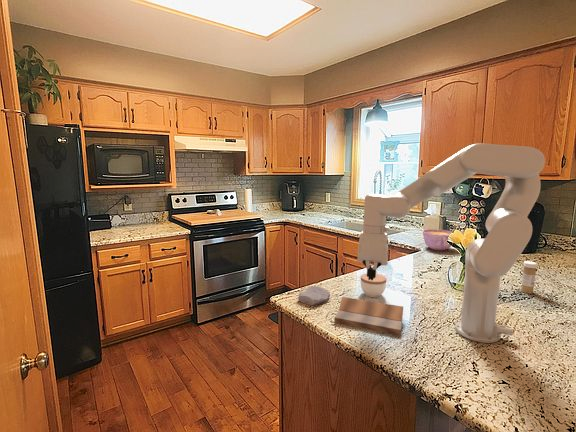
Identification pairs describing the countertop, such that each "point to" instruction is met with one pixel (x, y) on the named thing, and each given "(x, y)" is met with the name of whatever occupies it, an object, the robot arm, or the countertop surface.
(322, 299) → the stone block
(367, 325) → the walnut board
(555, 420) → the countertop surface
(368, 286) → the lidded jar
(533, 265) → the sprinkles bottle
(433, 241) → the bowl of food
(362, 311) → the chestnut plank
